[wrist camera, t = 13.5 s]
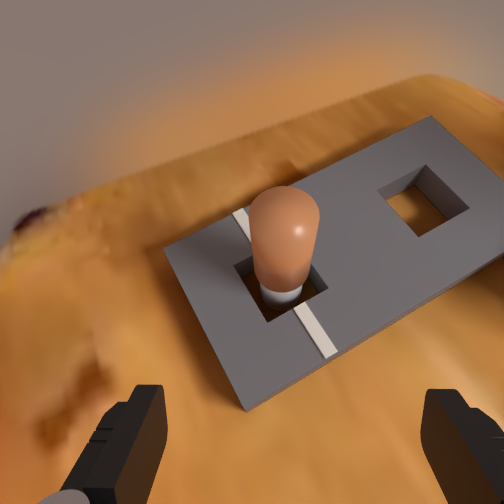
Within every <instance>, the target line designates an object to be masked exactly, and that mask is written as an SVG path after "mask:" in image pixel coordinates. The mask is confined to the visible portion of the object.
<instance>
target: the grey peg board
mask: <svg viewBox="0 0 504 504" xmlns="http://www.w3.org/2000/svg"><path fill="white" fill-rule="evenodd" d="M414 185H415V186H416V187H417V188H418V189H419V190H420V191H421V192H422V193H423V194H424V195H425V196H426V197H427V198H428V199H429V200H430V201H431V203H432V204H433V205H434V206H435V207H436V208H437V209H438V210H439V211H440V212H441V213H442V214H443V215H444V216H445V217H446V218H447V219H448V221H447V222H445V223H443V224H441V225H440V226H438V227H436V228H434V229H432V230H431V231H429V232H427V233H425V234H424V235H422V236H420V237H418V236H417V235H416V234H415V233H414V232H413V231H412V229H411V228H410V227H409V226H408V225H407V224H406V223H405V222H404V221H403V219H402V218H401V217H400V216H399V215H398V214H397V213H396V212H395V210H394V209H393V208H392V207H391V206H390V205H389V204H388V203H387V201H386V200H387V199H389V198H391V197H393V196H395V195H397V194H399V193H400V192H402V191H404V190H406V189H408V188H410V187H412V186H414ZM290 187H295V188H298V189H301V190H303V191H304V192H306V193H307V194H309V195H310V196H311V197H312V198H313V199H314V201H315V202H316V204H317V206H318V209H319V213H320V219H319V225H318V230H317V235H316V240H315V245H314V250H313V255H312V260H311V265H310V270H309V274H308V279H309V280H310V282H311V283H312V284H313V286H314V287H315V289H316V290H317V292H318V293H319V294H318V295H316V296H314V297H312V298H311V299H309V300H307V301H305V302H303V303H302V304H300V305H298V306H296V307H295V308H293V309H291V310H289V311H288V312H286V313H284V314H282V315H281V316H279V317H277V318H275V319H273V320H272V321H270V322H268V323H267V321H266V320H265V318H264V316H263V315H262V313H261V311H260V310H259V308H258V306H257V305H256V303H255V301H254V300H253V298H252V296H251V295H250V293H249V291H248V290H247V288H246V286H245V285H244V283H243V281H242V279H241V277H243V276H245V275H247V274H248V273H250V272H252V271H254V262H253V253H252V245H251V236H250V228H249V219H248V213H249V208H250V206H251V205H249V206H247V207H245V208H241V209H239V210H237V211H235V212H233V213H232V214H231V215H229V216H227V217H225V218H223V219H221V220H219V221H217V222H215V223H213V224H211V225H209V226H207V227H205V228H203V229H201V230H199V231H197V232H195V233H193V234H191V235H189V236H187V237H185V238H183V239H181V240H179V241H177V242H174V243H172V244H170V245H168V246H166V247H164V248H162V249H163V251H164V253H165V255H166V257H167V259H168V261H169V263H170V264H171V266H172V268H173V270H174V272H175V274H176V276H177V278H178V280H179V282H180V284H181V286H182V288H183V290H184V292H185V294H186V296H187V298H188V300H189V302H190V304H191V306H192V308H193V310H194V312H195V314H196V316H197V318H198V320H199V322H200V323H201V325H202V327H203V329H204V331H205V333H206V335H207V337H208V339H209V341H210V343H211V345H212V347H213V349H214V351H215V353H216V355H217V357H218V359H219V361H220V363H221V365H222V367H223V369H224V371H225V373H226V375H227V377H228V379H229V381H230V382H231V384H232V386H233V388H234V390H235V392H236V394H237V396H238V398H239V400H240V402H241V404H242V406H243V408H244V410H245V411H246V412H249V411H250V410H252V409H254V408H255V407H257V406H258V405H260V404H262V403H263V402H265V401H267V400H268V399H270V398H272V397H273V396H275V395H277V394H278V393H280V392H281V391H283V390H285V389H286V388H288V387H290V386H291V385H293V384H295V383H296V382H298V381H300V380H301V379H303V378H304V377H306V376H308V375H309V374H311V373H313V372H314V371H316V370H318V369H319V368H321V367H323V366H324V365H326V364H327V363H329V362H331V361H332V360H334V359H336V358H337V357H339V356H341V355H342V354H344V353H346V352H347V351H349V350H350V349H352V348H354V347H355V346H357V345H359V344H360V343H362V342H364V341H365V340H367V339H369V338H370V337H372V336H373V335H375V334H377V333H378V332H380V331H382V330H383V329H385V328H387V327H388V326H390V325H392V324H393V323H395V322H396V321H398V320H400V319H401V318H403V317H405V316H406V315H408V314H410V313H411V312H413V311H415V310H416V309H418V308H419V307H421V306H423V305H424V304H426V303H428V302H429V301H431V300H433V299H434V298H436V297H437V296H439V295H441V294H442V293H444V292H446V291H447V290H449V289H451V288H452V287H454V286H456V285H457V284H459V283H460V282H462V281H464V280H465V279H467V278H469V277H470V276H472V275H474V274H475V273H477V272H479V271H480V270H482V269H483V268H485V267H487V266H488V265H490V264H492V263H493V262H495V261H497V260H498V259H500V258H502V257H503V256H504V181H503V180H502V179H501V178H500V177H499V176H497V175H496V174H495V173H494V172H493V171H492V170H491V169H490V168H489V167H487V166H486V165H485V164H484V163H483V162H482V161H481V160H480V159H479V158H477V157H476V156H475V155H474V154H473V153H472V152H471V151H470V150H469V149H467V148H466V147H465V146H464V145H463V144H462V143H461V142H460V141H459V140H457V139H456V138H455V137H454V136H453V135H452V134H451V133H450V132H449V131H447V130H446V129H445V128H444V127H443V126H442V125H441V124H440V123H439V122H437V121H436V120H435V119H434V118H433V117H432V116H429V117H427V118H425V119H423V120H421V121H419V122H417V123H415V124H413V125H411V126H409V127H407V128H405V129H403V130H400V131H398V132H396V133H394V134H392V135H390V136H388V137H386V138H384V139H382V140H380V141H378V142H376V143H374V144H372V145H370V146H368V147H366V148H364V149H362V150H360V151H358V152H356V153H354V154H352V155H350V156H348V157H346V158H344V159H342V160H340V161H338V162H336V163H334V164H332V165H330V166H328V167H326V168H324V169H322V170H320V171H318V172H316V173H314V174H312V175H310V176H308V177H306V178H304V179H302V180H300V181H298V182H296V183H294V184H292V185H290Z"/></svg>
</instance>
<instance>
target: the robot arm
mask: <svg viewBox="0 0 504 504" xmlns="http://www.w3.org/2000/svg"><path fill="white" fill-rule="evenodd" d="M167 432H168V424H167V415H166V406H165V397H164V389H163V386H162V385H137V386H136V387H135V388H134V390H133V392H132V394H131V396H130V398H129V400H128V402H117V403H116V404H115V405H114V406H113V407H112V408H111V409H109V410H108V411H107V412H106V413H105V414H104V415H103V417H102V419H101V421H100V422H99V424H98V426H97V427H96V431H94V433H93V434H92V436H91V438H90V439H89V443H87V445H86V446H85V448H84V450H83V451H82V453H81V455H80V457H79V458H78V460H77V462H76V463H75V465H74V467H73V469H72V470H71V472H70V474H69V475H68V477H67V479H66V481H65V482H64V484H63V486H62V487H61V489H60V491H59V492H56V493H54V494H51V495H49V496H48V497H46V498H44V499H43V500H41V501H40V502H39V503H38V504H146V503H147V500H148V497H149V494H150V491H151V488H152V485H153V482H154V479H155V476H156V473H157V470H158V467H159V464H160V461H161V458H162V455H163V452H164V449H165V445H166V441H167ZM420 435H421V443H422V447H423V451H424V453H425V456H426V458H427V460H428V462H429V464H430V466H431V468H432V470H433V472H434V475H435V477H436V479H437V481H438V483H439V485H440V487H441V489H442V491H443V494H444V496H445V498H446V500H447V502H448V504H504V432H503V431H502V429H501V428H500V427H499V425H498V424H497V423H496V422H495V421H494V420H493V419H492V418H490V417H489V416H488V415H486V414H485V413H484V412H482V411H481V410H480V409H478V408H470V407H469V406H468V404H467V403H466V401H465V400H464V399H463V397H462V396H461V394H460V393H459V392H458V391H457V390H455V389H428V390H427V392H426V396H425V402H424V409H423V416H422V423H421V431H420Z"/></svg>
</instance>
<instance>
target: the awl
mask: <svg viewBox="0 0 504 504" xmlns="http://www.w3.org/2000/svg"><path fill="white" fill-rule="evenodd" d="M248 219H249V228H250V236H251V245H252V253H253V262H254V270H255V275H256V277H257V279H258V281H259V282H260V290H261V297H262V299H263V301H264V303H265V304H266V305H267V306H268V307H270V308H271V309H274V310H278V311H285V310H288V309H291V308H292V307H294V306H295V305H296V304H297V303H298V301H299V299H300V296H301V291H302V285H303V283H304V282H305V281H306V279H307V277H308V274H309V270H310V265H311V260H312V255H313V250H314V245H315V240H316V235H317V230H318V225H319V219H320V213H319V209H318V206H317V204H316V202H315V201H314V199H313V198H312V197H311V196H310V195H309V194H307V193H306V192H304V191H303V190H301V189H298V188H295V187H290V186H278V187H273V188H270V189H267V190H265V191H263V192H262V193H260V194H259V195H258V196H257V197H256V198H255V199H254V200H253V202H252V204H251V206H250V208H249V213H248Z"/></svg>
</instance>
